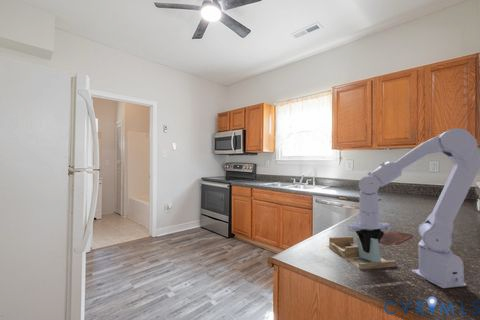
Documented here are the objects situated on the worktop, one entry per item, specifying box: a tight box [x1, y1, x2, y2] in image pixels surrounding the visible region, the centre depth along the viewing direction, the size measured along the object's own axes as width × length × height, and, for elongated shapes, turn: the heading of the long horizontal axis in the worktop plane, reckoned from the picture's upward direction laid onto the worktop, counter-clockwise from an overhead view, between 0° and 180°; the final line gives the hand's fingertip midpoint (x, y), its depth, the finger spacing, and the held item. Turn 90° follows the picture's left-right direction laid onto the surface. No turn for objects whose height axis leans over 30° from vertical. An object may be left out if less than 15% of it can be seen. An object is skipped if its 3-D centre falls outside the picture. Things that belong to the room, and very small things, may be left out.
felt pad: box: [354, 258, 373, 263], centre depth 74 cm, size 6×8×1 cm
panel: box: [356, 236, 382, 262], centre depth 75 cm, size 8×2×7 cm, turn 9°
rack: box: [326, 235, 398, 270], centre depth 80 cm, size 20×13×4 cm, turn 9°
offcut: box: [348, 241, 358, 246], centre depth 87 cm, size 4×3×2 cm
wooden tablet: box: [379, 231, 414, 246], centre depth 99 cm, size 26×2×10 cm
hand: (369, 251), depth 74 cm, fingers closed on panel, 2 cm apart
